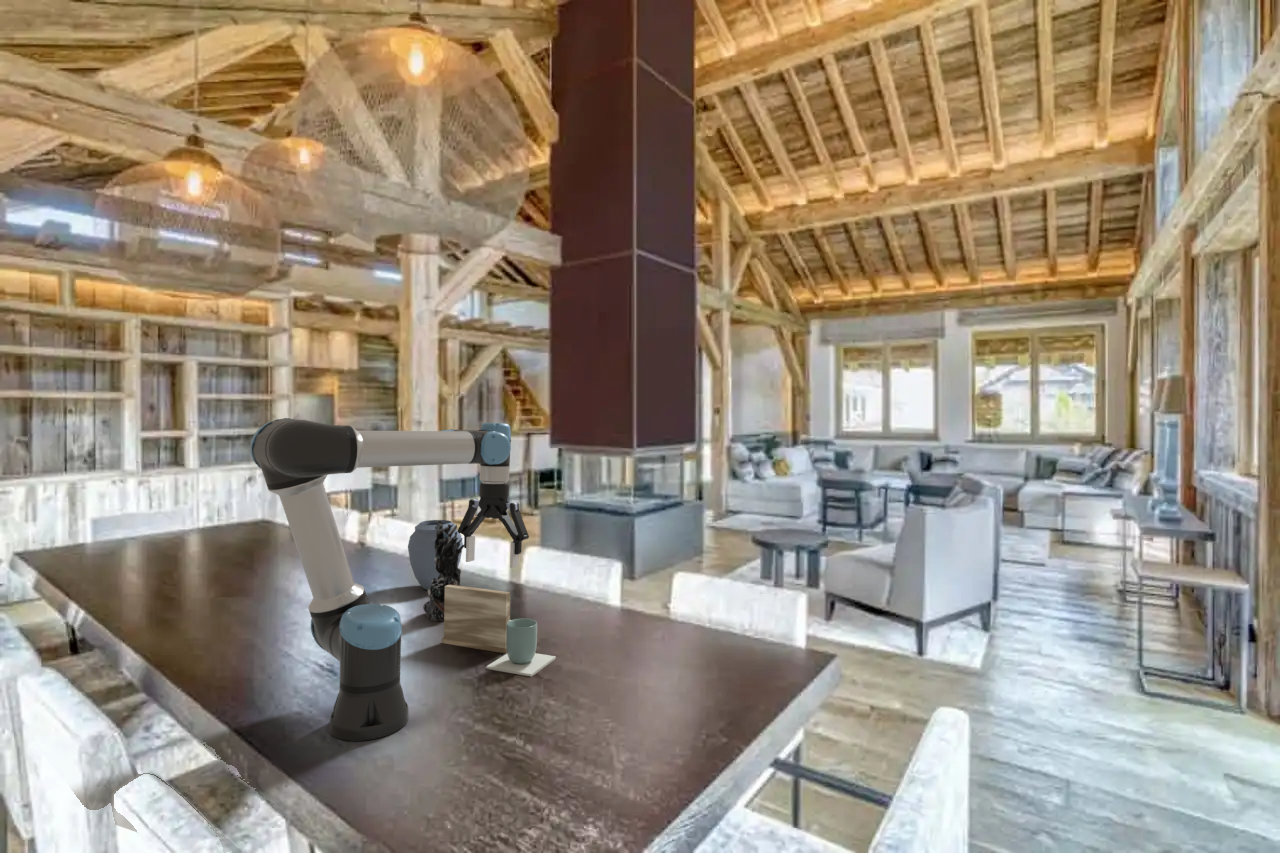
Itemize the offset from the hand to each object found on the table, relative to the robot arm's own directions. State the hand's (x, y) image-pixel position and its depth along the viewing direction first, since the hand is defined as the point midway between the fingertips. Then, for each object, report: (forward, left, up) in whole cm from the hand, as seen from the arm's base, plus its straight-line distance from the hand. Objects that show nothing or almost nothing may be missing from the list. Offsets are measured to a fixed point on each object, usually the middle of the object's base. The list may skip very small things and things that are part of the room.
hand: (491, 564), depth 170 cm
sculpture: (+28, +35, -26) cm, 52 cm away
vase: (+55, +59, -26) cm, 85 cm away
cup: (+3, -8, -25) cm, 27 cm away
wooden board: (+9, +10, -26) cm, 29 cm away
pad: (+3, -8, -26) cm, 27 cm away
